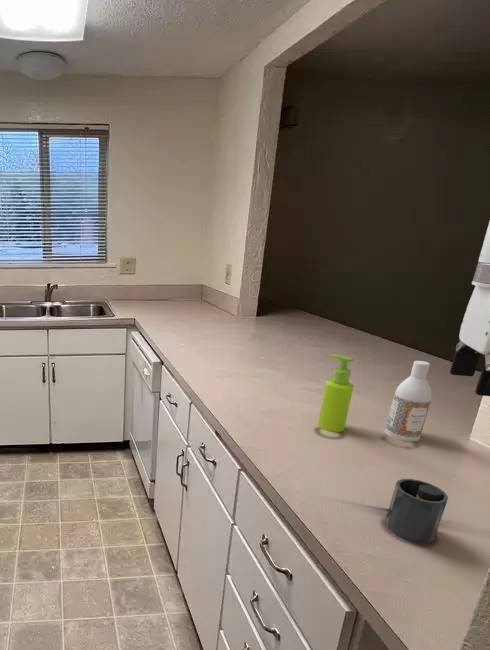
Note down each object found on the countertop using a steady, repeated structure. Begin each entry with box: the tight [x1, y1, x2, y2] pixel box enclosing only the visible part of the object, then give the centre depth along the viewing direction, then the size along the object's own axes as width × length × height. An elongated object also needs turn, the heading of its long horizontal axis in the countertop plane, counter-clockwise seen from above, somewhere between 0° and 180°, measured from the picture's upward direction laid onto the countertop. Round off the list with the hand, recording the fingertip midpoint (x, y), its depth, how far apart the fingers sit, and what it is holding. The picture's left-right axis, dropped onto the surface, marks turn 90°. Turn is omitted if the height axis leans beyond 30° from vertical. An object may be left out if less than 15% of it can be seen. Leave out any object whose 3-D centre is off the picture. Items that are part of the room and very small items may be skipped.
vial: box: [416, 485, 442, 501], centre depth 73 cm, size 8×3×3 cm
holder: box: [385, 478, 449, 544], centre depth 74 cm, size 7×7×8 cm
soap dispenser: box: [317, 353, 355, 433], centre depth 107 cm, size 6×7×20 cm
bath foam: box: [384, 360, 432, 443], centre depth 103 cm, size 7×7×20 cm
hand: (473, 384), depth 70 cm, fingers open, 9 cm apart
